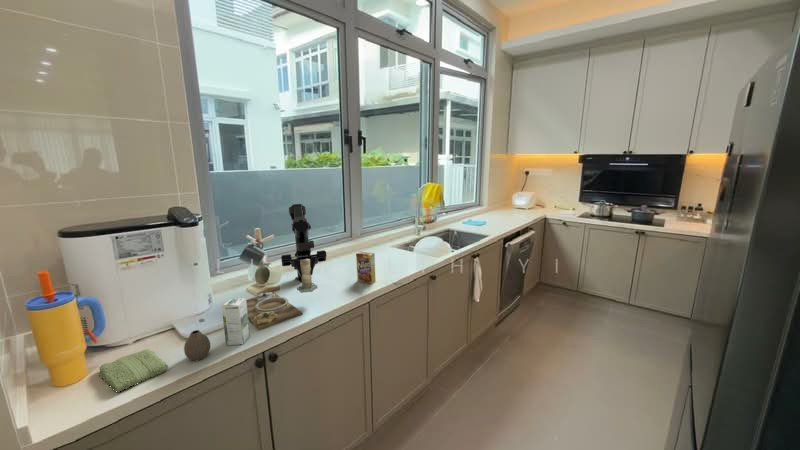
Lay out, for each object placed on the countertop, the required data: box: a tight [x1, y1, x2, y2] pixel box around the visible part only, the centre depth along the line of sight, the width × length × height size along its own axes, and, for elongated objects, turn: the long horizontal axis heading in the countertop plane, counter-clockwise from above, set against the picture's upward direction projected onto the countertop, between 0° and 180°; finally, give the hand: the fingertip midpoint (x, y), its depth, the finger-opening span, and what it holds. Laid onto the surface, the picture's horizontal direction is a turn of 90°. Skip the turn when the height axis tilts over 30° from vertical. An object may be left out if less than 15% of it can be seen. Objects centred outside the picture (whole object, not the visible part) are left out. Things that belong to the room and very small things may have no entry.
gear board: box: [246, 291, 303, 331], centre depth 129 cm, size 30×17×3 cm, turn 44°
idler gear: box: [296, 259, 318, 294], centre depth 131 cm, size 8×8×13 cm
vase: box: [183, 329, 211, 362], centre depth 97 cm, size 7×7×9 cm
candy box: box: [355, 250, 376, 284], centre depth 157 cm, size 9×4×15 cm, turn 64°
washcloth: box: [98, 348, 169, 393], centre depth 91 cm, size 13×18×3 cm
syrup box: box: [221, 297, 250, 346], centre depth 105 cm, size 6×6×14 cm
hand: (306, 275), depth 130 cm, fingers closed on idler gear, 4 cm apart
